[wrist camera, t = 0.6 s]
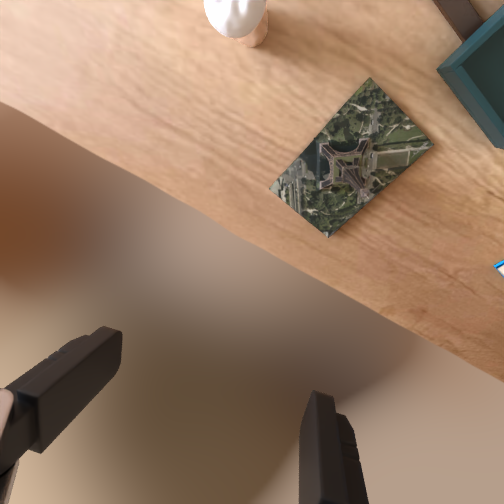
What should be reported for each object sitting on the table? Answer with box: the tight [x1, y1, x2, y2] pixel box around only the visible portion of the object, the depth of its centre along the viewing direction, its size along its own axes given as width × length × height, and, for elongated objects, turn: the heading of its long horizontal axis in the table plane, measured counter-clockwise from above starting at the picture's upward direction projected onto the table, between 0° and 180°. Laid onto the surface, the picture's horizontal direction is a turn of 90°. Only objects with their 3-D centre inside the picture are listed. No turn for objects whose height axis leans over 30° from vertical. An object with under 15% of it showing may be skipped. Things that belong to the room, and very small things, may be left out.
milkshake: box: [204, 0, 268, 47], centre depth 21 cm, size 4×5×10 cm
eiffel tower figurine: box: [269, 78, 434, 238], centre depth 25 cm, size 15×10×13 cm
